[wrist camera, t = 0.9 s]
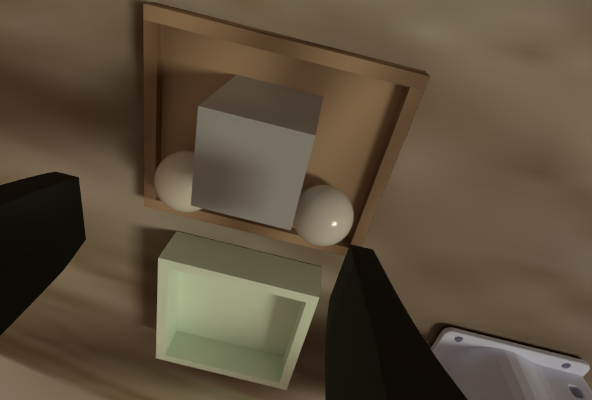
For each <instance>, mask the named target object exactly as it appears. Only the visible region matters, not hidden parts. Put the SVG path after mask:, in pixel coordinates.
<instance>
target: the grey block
mask: <svg viewBox="0 0 592 400" xmlns="http://www.w3.org/2000/svg"><path fill="white" fill-rule="evenodd" d="M322 101H323V96H319V95H316V94H312V93H308V92H304V91H300V90H296V89H292V88H288V87H284V86H280V85H276V84H272V83H268V82H264V81H260V80H256V79H252V78H248V77H245V76H241V75H236V76H235V77H233V78H232V79H231V80H230V81H228V82H227V83H226V84H225V85H223V86H222V87H221V88H220V89H218V90H217V91H216V92H215V93H214V94H212V95H211V96H210V97H209V98H207V99H206V100H205V101H204V102H202V103H201V104H200V105H199V106H198V114H197V127H196V140H195V153H194V166H193V180H192V193H191V206H195V207H199V208H203V209H207V210H211V211H215V212H219V213H223V214H227V215H231V216H235V217H239V218H243V219H247V220H251V221H255V222H259V223H263V224H267V225H271V226H275V227H279V228H283V229H287V230H291V228H292V224H293V220H294V216H295V212H296V209H297V205H298V201H299V197H300V193H301V189H302V186H303V182H304V178H305V174H306V170H307V166H308V163H309V159H310V155H311V151H312V147H313V144H314V140H315V136H316V131H317V126H318V121H319V116H320V111H321V106H322Z"/></svg>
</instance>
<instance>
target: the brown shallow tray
mask: <svg viewBox="0 0 592 400" xmlns="http://www.w3.org/2000/svg"><path fill="white" fill-rule="evenodd" d="M143 46H144V206H145V207H149V208H153V209H157V210H161V211H165V212H169V213H173V214H177V215H181V216H185V217H189V218H193V219H197V220H201V221H205V222H209V223H213V224H217V225H221V226H225V227H229V228H233V229H238V230H242V231H246V232H250V233H254V234H258V235H262V236H266V237H270V238H274V239H278V240H282V241H286V242H290V243H294V244H298V245H302V246H306V247H310V248H314V249H318V250H322V251H326V252H330V253H334V254H338V255H342V256H346V254H347V251H348V248H349V246H350V244H352V245H356V246H360V247H362V244H363V242H364V239H365V237H366V235H367V232H368V230H369V227H370V225H371V222H372V220H373V217H374V215H375V212H376V210H377V207H378V205H379V202H380V200H381V197H382V195H383V192H384V190H385V187H386V185H387V182H388V180H389V177H390V175H391V172H392V170H393V167H394V165H395V162H396V160H397V157H398V155H399V152H400V150H401V147H402V145H403V142H404V140H405V137H406V135H407V133H408V130H409V128H410V125H411V123H412V120H413V118H414V115H415V113H416V110H417V108H418V105H419V103H420V100H421V98H422V95H423V93H424V90H425V88H426V85H427V83H428V80H429V78H430V76H429V75H428V74H427V73H426V72H425V71H421V70H417V69H413V68H409V67H405V66H402V65H398V64H394V63H390V62H386V61H382V60H378V59H374V58H370V57H366V56H362V55H358V54H354V53H351V52H347V51H343V50H339V49H335V48H331V47H327V46H323V45H319V44H315V43H311V42H307V41H303V40H300V39H296V38H292V37H288V36H284V35H280V34H276V33H272V32H268V31H264V30H260V29H256V28H252V27H249V26H245V25H241V24H237V23H233V22H229V21H225V20H221V19H217V18H213V17H209V16H205V15H201V14H198V13H194V12H190V11H186V10H182V9H178V8H174V7H170V6H166V5H162V4H158V3H143ZM236 75H241V76H245V77H248V78H252V79H256V80H260V81H264V82H268V83H272V84H276V85H280V86H284V87H288V88H292V89H296V90H300V91H304V92H308V93H312V94H316V95H319V96H323V101H322V106H321V111H320V116H319V121H318V126H317V131H316V136H315V140H314V144H313V147H312V151H311V155H310V159H309V163H308V166H307V170H306V174H305V178H304V182H303V186H302V189H301V193H302V192H304V191H305V190H306V189H308V188H310V187H313V186H316V185H330V186H333V187H335V188H338V189H339V190H341V191H342V192H343V193H344V194H345V195H346V196H347V197H348V198H349V200H350V202H351V204H352V207H353V212H354V219H353V224H352V227H351V229H350V231H349V233H348V234H347V235H346V237H345V238H343V239H342V240H341V241H340V242H338V243H336V244H333V245H330V246H316V245H312V244H310V243H308V242H306V241H305V240H304V239H302V238H301V237H300V235H299V234H298V233H297V231H296V230H295V227H294V225H293V224H292V228H291V230H287V229H283V228H279V227H275V226H271V225H267V224H263V223H259V222H255V221H251V220H247V219H243V218H239V217H235V216H231V215H227V214H223V213H219V212H215V211H211V210H207V209H200V210H198V211H195V212H179V211H176V210H173V209H171V208H169V207H168V206H167V205H165V204H164V203H163V202H162V201H161V199H160V198H159V197H158V195H157V192H156V190H155V185H154V177H155V172H156V170H157V168H158V166H159V164H160V163H161V162H162V160H163V159H165V158H166V157H167V156H168V155H170V154H172V153H175V152H178V151H194V152H195V140H196V127H197V114H198V106H199V105H200V104H201V103H202V102H204V101H205V100H206V99H207V98H209V97H210V96H211V95H212V94H214V93H215V92H216V91H217V90H218V89H220V88H221V87H222V86H223V85H225V84H226V83H227V82H228V81H230V80H231V79H232V78H233V77H235V76H236ZM301 193H300V194H301Z"/></svg>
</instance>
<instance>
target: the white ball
mask: <svg viewBox="0 0 592 400" xmlns="http://www.w3.org/2000/svg"><path fill="white" fill-rule="evenodd" d="M353 219H354V212H353V207H352V204H351V202H350V200H349V198H348V197H347V196H346V195H345V194H344V193H343V192H342V191H341V190H339V189H338V188H335V187H333V186H330V185H316V186H313V187H310V188H308V189H306V190H305V191H304V192H302V193H301V194H300V197H299V201H298V205H297V209H296V212H295V216H294V220H293V225H294V227H295V230H296V231H297V233H298V234H299V235H300V237H301V238H302V239H304V240H305V241H306V242H308V243H310V244H312V245H316V246H330V245H333V244H336V243H338V242H340V241H341V240H342V239H343V238H345V237H346V235H347V234H348V233H349V231H350V229H351V227H352V224H353Z"/></svg>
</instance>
